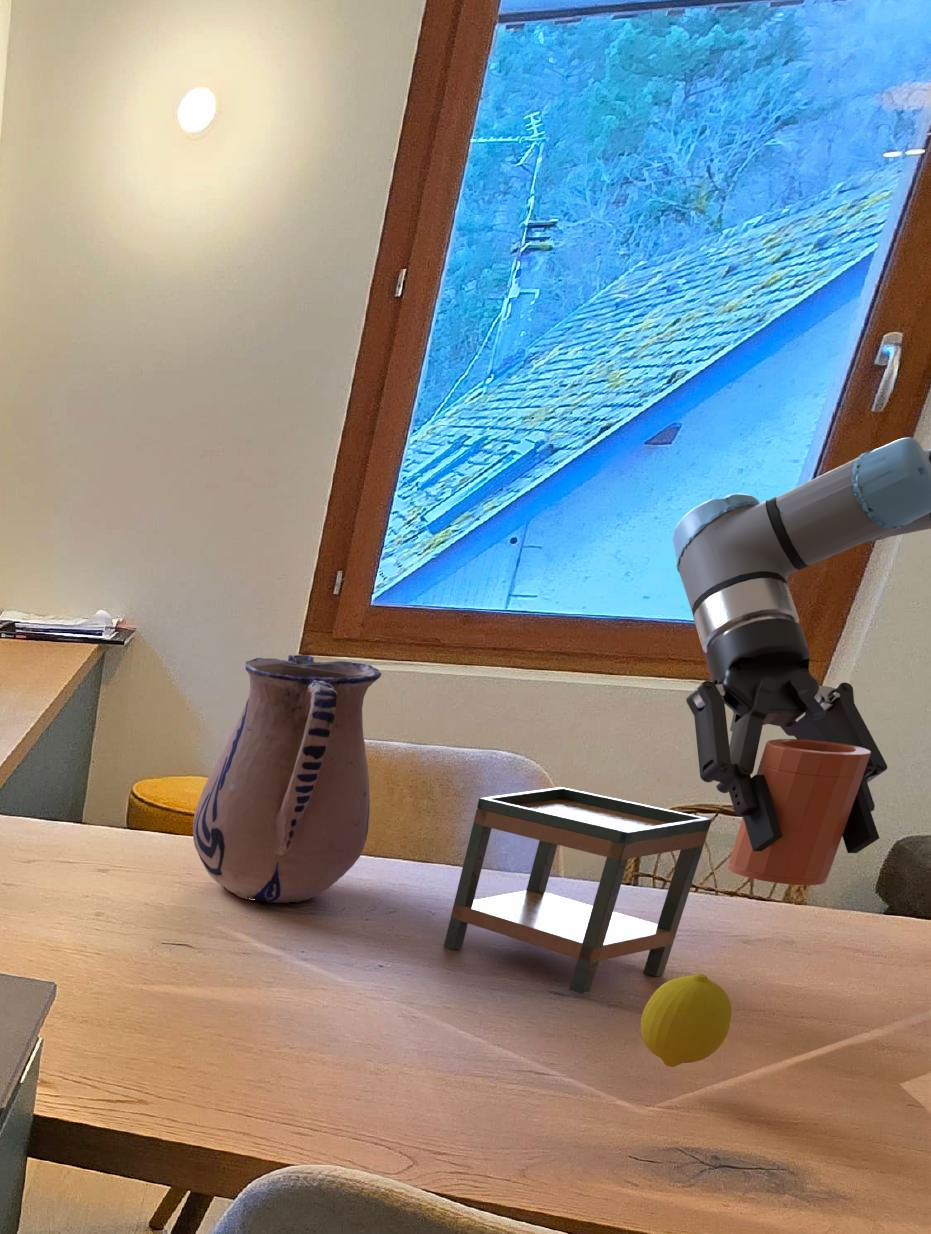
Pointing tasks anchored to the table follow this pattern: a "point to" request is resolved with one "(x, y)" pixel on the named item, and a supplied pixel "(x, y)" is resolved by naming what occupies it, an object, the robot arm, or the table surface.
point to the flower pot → (803, 810)
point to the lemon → (686, 1020)
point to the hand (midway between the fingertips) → (815, 844)
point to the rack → (598, 928)
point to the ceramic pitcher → (289, 783)
